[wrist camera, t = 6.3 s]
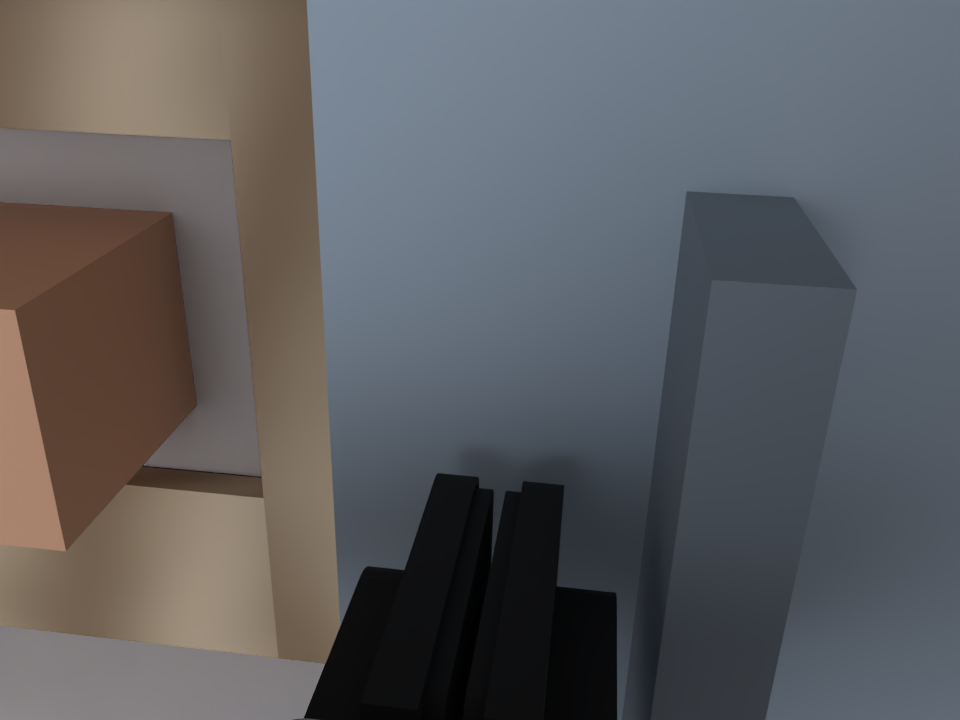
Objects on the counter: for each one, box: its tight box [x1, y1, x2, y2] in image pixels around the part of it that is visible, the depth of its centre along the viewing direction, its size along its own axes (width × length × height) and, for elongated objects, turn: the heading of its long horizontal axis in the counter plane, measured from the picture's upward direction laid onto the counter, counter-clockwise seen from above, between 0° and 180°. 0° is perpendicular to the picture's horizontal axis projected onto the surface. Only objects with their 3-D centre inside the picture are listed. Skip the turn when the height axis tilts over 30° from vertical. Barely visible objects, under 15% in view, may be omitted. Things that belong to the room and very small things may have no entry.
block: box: [0, 202, 197, 551], centre depth 18 cm, size 4×4×6 cm
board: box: [0, 0, 340, 664], centre depth 17 cm, size 25×17×6 cm
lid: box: [307, 0, 960, 720], centre depth 12 cm, size 10×17×4 cm, turn 178°
